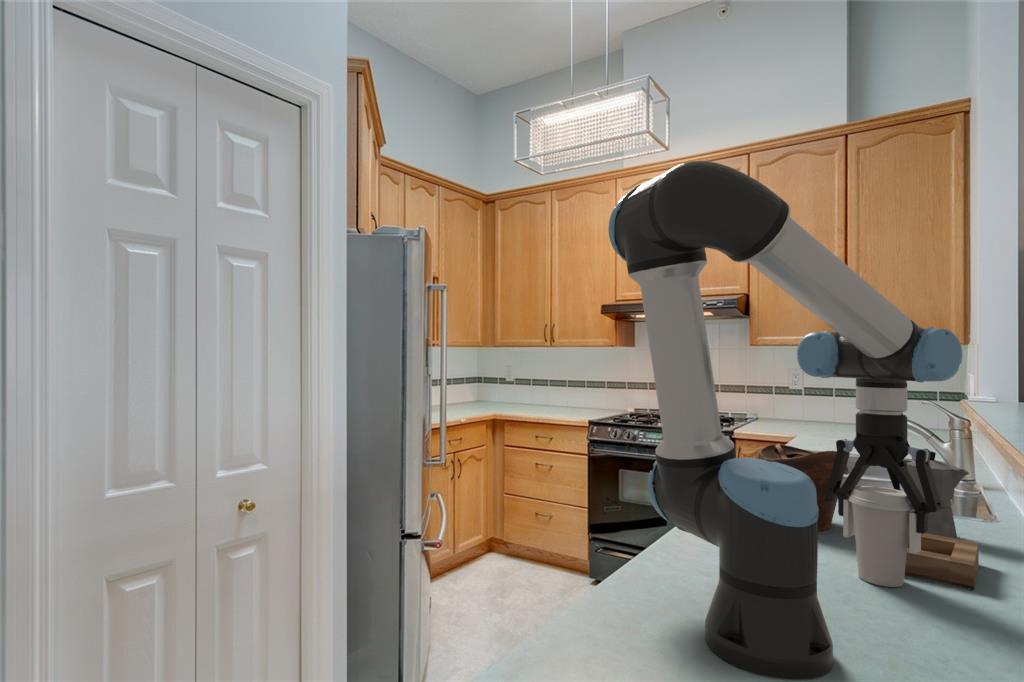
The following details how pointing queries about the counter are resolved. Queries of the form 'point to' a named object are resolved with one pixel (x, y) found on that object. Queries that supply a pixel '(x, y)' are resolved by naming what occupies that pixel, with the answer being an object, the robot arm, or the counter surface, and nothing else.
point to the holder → (944, 561)
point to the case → (808, 474)
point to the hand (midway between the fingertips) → (880, 543)
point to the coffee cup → (881, 533)
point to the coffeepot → (945, 484)
